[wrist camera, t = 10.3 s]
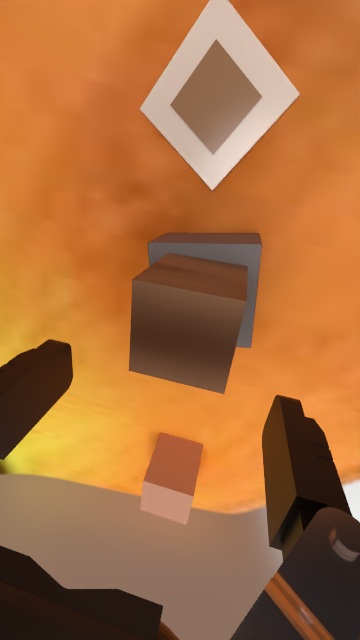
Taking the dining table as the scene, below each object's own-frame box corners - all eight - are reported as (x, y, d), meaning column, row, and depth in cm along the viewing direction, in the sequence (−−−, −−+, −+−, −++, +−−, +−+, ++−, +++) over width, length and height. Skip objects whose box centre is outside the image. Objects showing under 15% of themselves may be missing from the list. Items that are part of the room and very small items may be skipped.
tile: (213, 190, 19) (212, 190, 19) (142, 111, 18) (138, 107, 17) (298, 97, 16) (300, 92, 15) (219, -6, 15) (217, -15, 14)
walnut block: (231, 336, 19) (223, 393, 13) (161, 321, 19) (128, 370, 14) (247, 266, 16) (247, 301, 11) (168, 252, 17) (132, 279, 12)
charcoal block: (250, 318, 23) (250, 347, 19) (171, 312, 24) (154, 338, 20) (258, 233, 20) (261, 244, 16) (168, 232, 21) (147, 242, 17)
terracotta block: (196, 471, 33) (186, 525, 27) (157, 459, 34) (140, 509, 28) (203, 444, 30) (193, 496, 25) (161, 432, 31) (143, 480, 26)
